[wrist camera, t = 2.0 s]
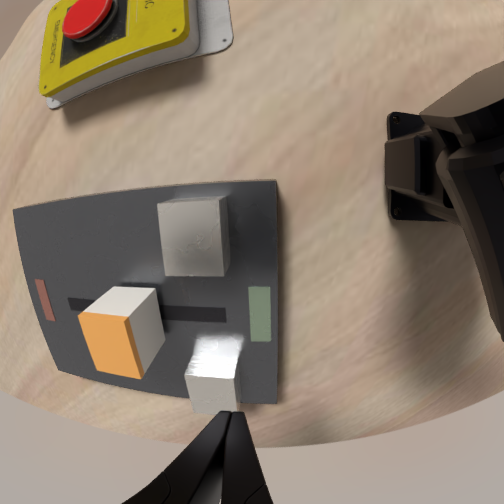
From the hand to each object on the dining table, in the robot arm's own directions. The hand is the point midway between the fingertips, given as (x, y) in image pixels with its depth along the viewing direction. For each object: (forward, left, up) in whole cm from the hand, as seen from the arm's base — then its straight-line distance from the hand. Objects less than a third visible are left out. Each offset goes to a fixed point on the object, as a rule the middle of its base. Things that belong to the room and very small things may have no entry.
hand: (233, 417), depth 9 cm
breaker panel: (+9, 0, -10) cm, 13 cm away
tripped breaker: (+7, 0, -7) cm, 10 cm away
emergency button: (+9, -20, -11) cm, 24 cm away
